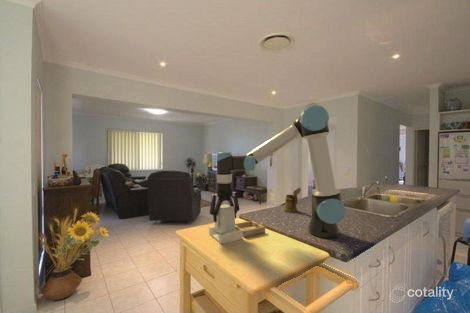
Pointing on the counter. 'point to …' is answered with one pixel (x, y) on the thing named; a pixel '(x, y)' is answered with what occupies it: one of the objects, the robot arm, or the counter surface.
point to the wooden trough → (250, 228)
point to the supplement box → (226, 219)
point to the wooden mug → (291, 201)
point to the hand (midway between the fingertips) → (225, 226)
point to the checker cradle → (225, 235)
